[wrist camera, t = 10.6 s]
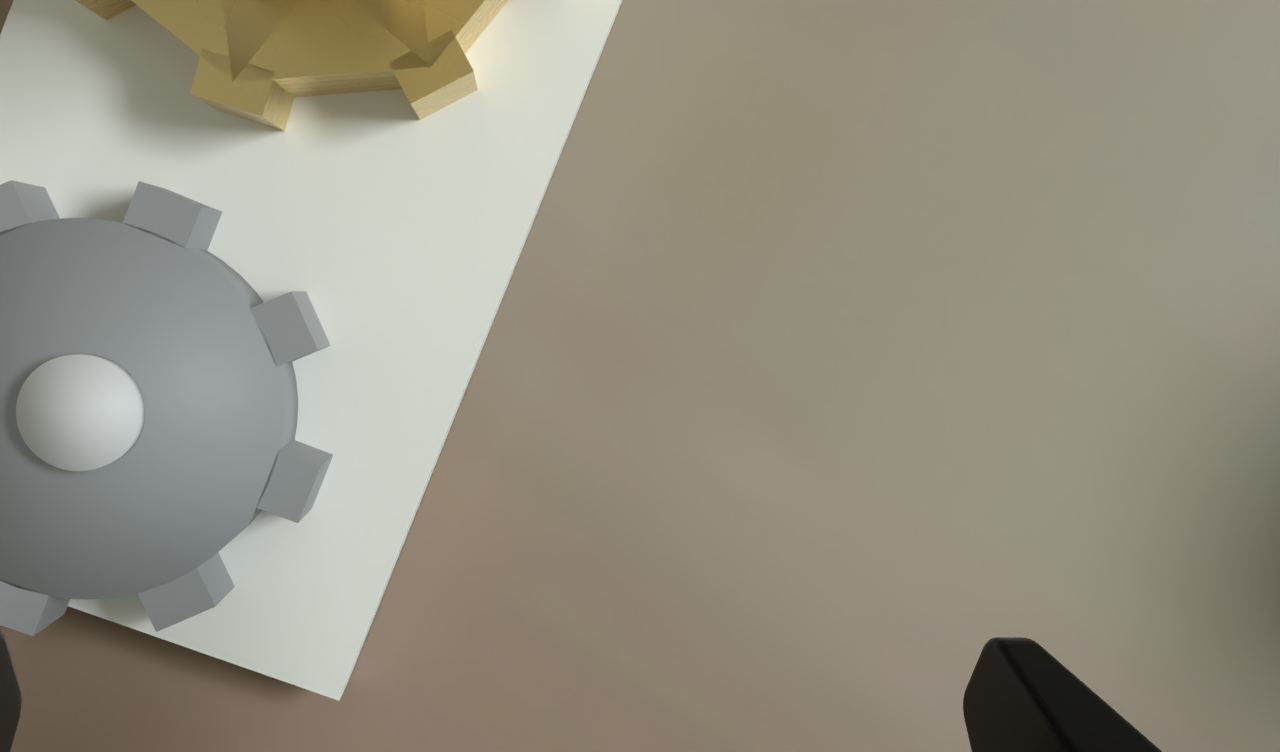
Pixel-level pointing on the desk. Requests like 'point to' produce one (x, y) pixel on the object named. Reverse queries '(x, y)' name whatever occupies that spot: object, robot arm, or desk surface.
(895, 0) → the desk surface
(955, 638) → the desk surface
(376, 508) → the gear board
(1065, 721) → the robot arm
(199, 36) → the yellow octagonal tube
